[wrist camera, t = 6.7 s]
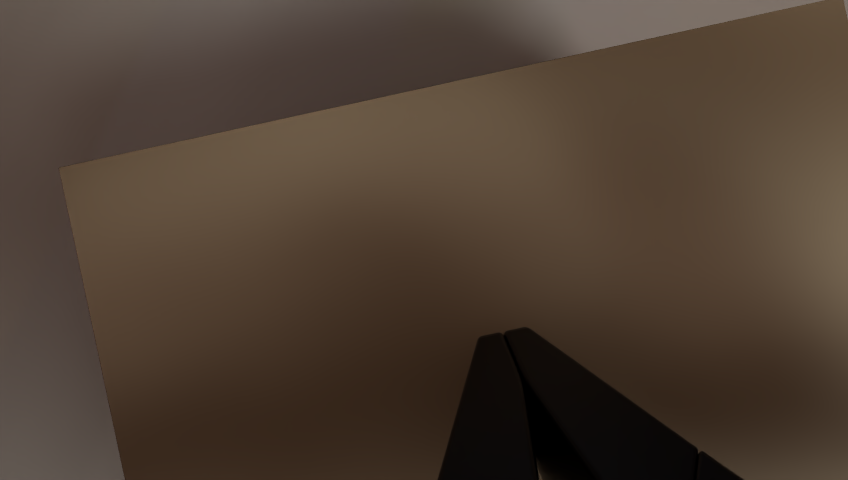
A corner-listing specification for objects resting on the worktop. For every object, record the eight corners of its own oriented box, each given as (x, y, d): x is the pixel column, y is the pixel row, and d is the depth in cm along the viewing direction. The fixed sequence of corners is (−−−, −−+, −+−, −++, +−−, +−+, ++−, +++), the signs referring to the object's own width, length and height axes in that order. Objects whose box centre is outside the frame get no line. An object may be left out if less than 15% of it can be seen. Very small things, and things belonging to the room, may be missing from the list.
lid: (954, 651, 10) (988, 677, 9) (213, 795, 10) (199, 829, 10) (817, 11, 10) (842, -4, 9) (80, 172, 10) (58, 167, 10)
